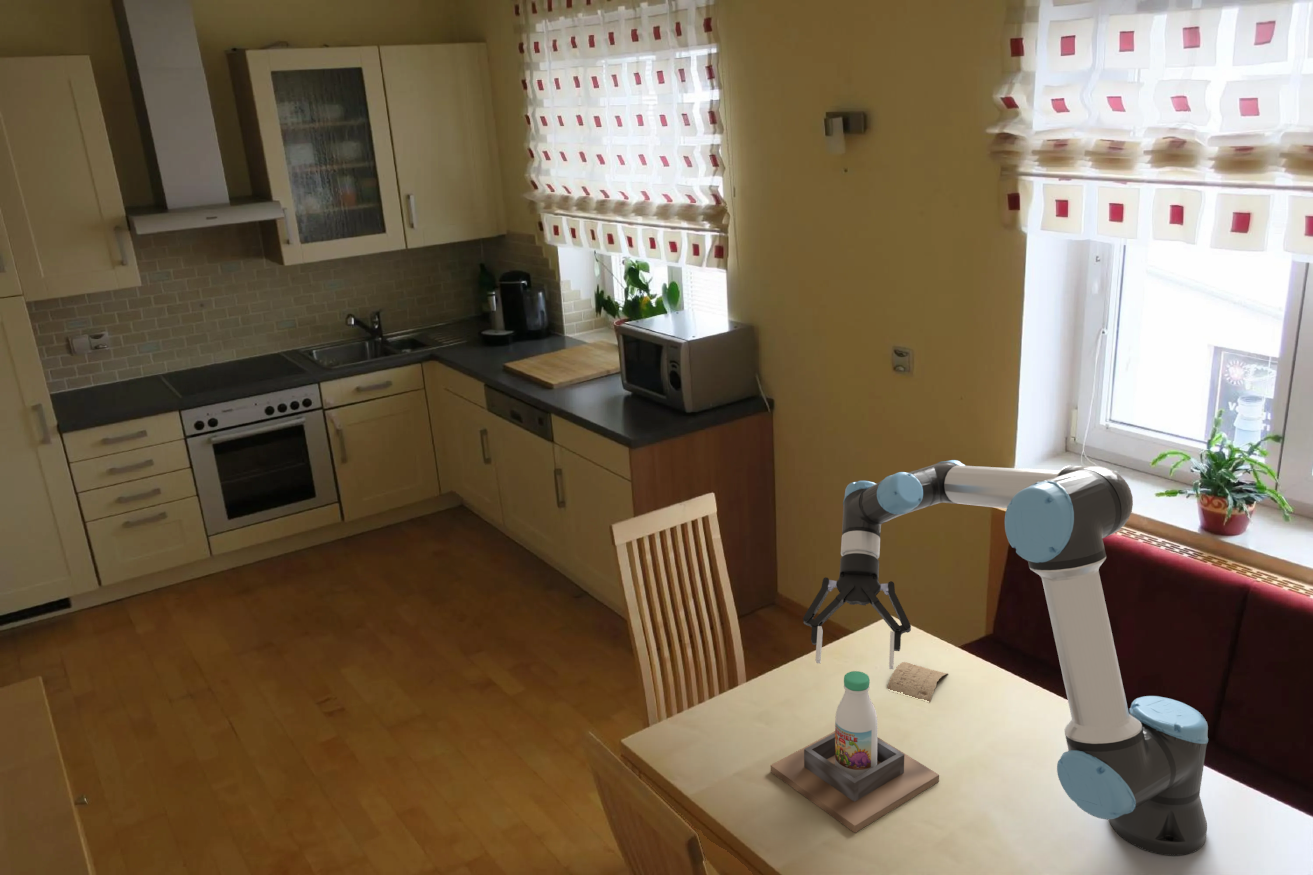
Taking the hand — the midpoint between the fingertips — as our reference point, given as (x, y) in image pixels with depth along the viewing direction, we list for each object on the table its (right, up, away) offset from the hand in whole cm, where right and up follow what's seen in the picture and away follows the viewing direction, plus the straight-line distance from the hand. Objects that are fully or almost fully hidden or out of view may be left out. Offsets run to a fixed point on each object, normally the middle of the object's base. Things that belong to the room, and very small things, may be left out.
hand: (854, 664), depth 192 cm
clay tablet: (+19, -11, +29) cm, 37 cm away
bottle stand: (0, -21, 0) cm, 21 cm away
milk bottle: (0, -20, -1) cm, 20 cm away
